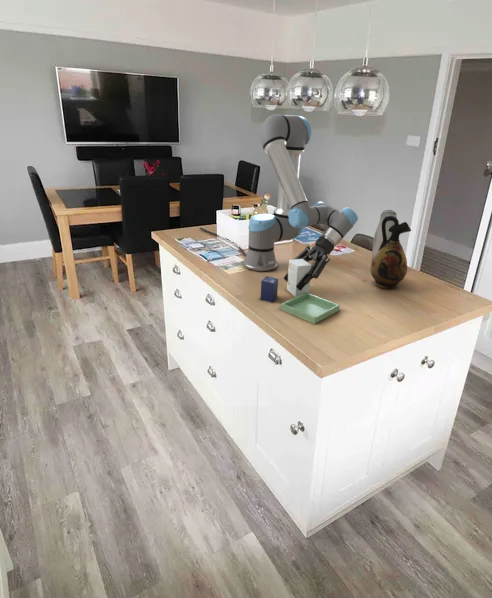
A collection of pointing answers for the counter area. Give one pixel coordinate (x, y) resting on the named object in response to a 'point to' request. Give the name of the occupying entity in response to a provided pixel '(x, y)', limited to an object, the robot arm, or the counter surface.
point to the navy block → (269, 289)
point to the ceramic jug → (390, 256)
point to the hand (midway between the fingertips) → (291, 284)
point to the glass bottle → (378, 234)
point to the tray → (310, 307)
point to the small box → (297, 276)
